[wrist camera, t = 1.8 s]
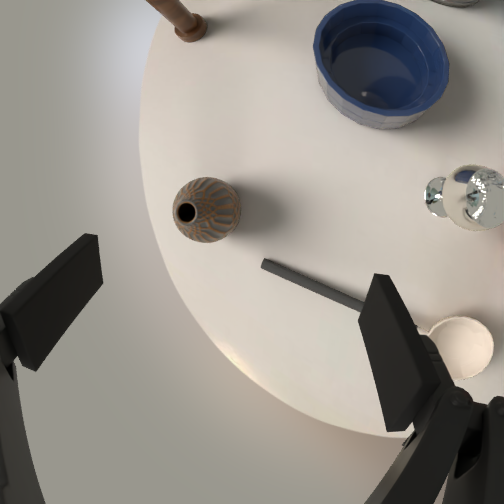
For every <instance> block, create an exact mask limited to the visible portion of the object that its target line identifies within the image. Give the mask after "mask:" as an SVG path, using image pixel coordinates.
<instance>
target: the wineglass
mask: <svg viewBox="0 0 504 504" xmlns="http://www.w3.org/2000/svg"><path fill="white" fill-rule="evenodd" d="M424 199H425V203H426V206H427V208H428V209H429V211H430V212H431V213H432V214H434V215H436V216H439V217H446V216H448V217H449V218H450V219H451V220H452V221H453V222H454V223H455V224H456V225H457V226H459V227H461V228H463V229H465V230H469V231H485V230H489V229H492V228H495V227H497V226H499V225H500V224H502V223H503V222H504V178H503V176H502V175H501V174H499V173H498V172H497V171H495V170H493V169H490V168H488V167H485V166H482V165H476V164H469V165H463V166H460V167H458V168H456V169H455V170H454V171H452V172H451V173H450V174H449V175H448V177H447V178H443V177H438V178H434V179H433V180H431V181H430V182H429V183H428V185H427V187H426V189H425V194H424Z"/></svg>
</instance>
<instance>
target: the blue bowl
mask: <svg viewBox="0 0 504 504" xmlns="http://www.w3.org/2000/svg"><path fill="white" fill-rule="evenodd" d="M313 50H314V56H315V62H316V69H317V74H318V80H319V84H320V86H321V88H322V90H323V92H324V94H325V96H326V97H327V99H328V101H329V102H330V103H331V104H332V105H333V106H334V107H335V108H336V109H337V110H338V111H339V112H340V113H341V114H343V115H345V116H346V117H348V118H350V119H352V120H353V121H355V122H357V123H358V124H361V125H365V126H369V127H373V128H377V129H392V128H399V127H402V126H405V125H407V124H410V123H413V122H414V121H416V120H417V119H418V118H419V117H420V116H421V115H422V114H424V113H425V112H426V111H427V110H428V109H429V108H430V107H431V106H432V105H433V104H434V103H436V102H437V101H438V100H439V99H440V98H441V97H442V94H443V92H444V90H445V88H446V86H447V84H448V80H449V61H448V58H447V54H446V51H445V48H444V45H443V43H442V42H441V40H440V39H439V37H438V35H437V34H436V32H435V31H434V30H433V28H432V27H431V26H430V25H428V24H427V23H426V22H425V21H424V20H423V19H422V18H421V17H419V16H418V15H417V14H416V13H414V12H412V11H410V10H408V9H406V8H404V7H403V6H401V5H398V4H395V3H392V2H388V1H384V0H354V1H351V2H347V3H344V4H341V5H339V6H338V7H336V8H335V9H333V10H332V11H330V12H329V13H328V14H326V15H325V16H324V18H323V19H322V21H321V22H320V24H319V26H318V27H317V29H316V33H315V38H314V43H313Z"/></svg>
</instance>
